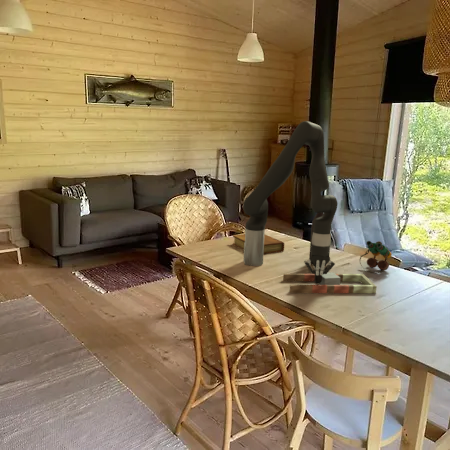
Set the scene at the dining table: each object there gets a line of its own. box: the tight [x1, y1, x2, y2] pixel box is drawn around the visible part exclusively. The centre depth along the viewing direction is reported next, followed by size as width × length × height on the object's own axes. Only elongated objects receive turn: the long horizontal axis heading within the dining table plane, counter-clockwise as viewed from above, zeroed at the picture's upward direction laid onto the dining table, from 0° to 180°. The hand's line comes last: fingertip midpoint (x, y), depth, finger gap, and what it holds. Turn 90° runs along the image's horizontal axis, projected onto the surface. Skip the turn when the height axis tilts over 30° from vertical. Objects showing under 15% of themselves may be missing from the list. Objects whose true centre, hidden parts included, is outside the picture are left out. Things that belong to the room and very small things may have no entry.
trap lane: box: [282, 273, 378, 294], centre depth 187 cm, size 36×15×3 cm, turn 94°
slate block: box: [319, 271, 341, 285], centre depth 189 cm, size 7×7×4 cm
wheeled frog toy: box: [359, 240, 393, 274], centre depth 209 cm, size 14×14×15 cm
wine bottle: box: [309, 213, 324, 264], centre depth 215 cm, size 7×7×30 cm
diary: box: [232, 233, 285, 255], centre depth 243 cm, size 23×19×6 cm
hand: (317, 283), depth 187 cm, fingers closed
